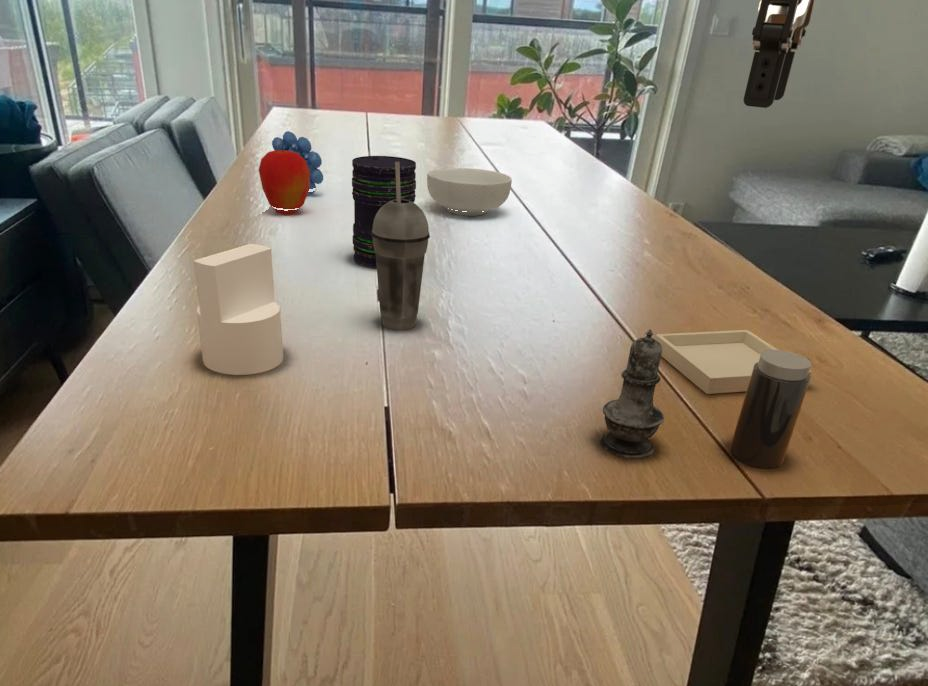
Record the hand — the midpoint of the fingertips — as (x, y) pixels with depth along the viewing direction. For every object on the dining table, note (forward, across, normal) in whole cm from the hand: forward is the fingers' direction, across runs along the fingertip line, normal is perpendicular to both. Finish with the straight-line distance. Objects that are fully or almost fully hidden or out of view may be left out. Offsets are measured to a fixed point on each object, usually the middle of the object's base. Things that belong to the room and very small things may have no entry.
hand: (763, 102), depth 64 cm
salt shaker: (+31, -7, +4) cm, 32 cm away
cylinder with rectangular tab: (+31, -10, +48) cm, 58 cm away
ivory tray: (+30, +19, -2) cm, 36 cm away
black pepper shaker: (+30, -2, -8) cm, 31 cm away
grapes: (+31, +62, +93) cm, 116 cm away
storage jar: (+31, +33, +55) cm, 71 cm away
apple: (+31, +49, +85) cm, 103 cm away
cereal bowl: (+31, +72, +58) cm, 97 cm away
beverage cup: (+31, +9, +39) cm, 50 cm away
